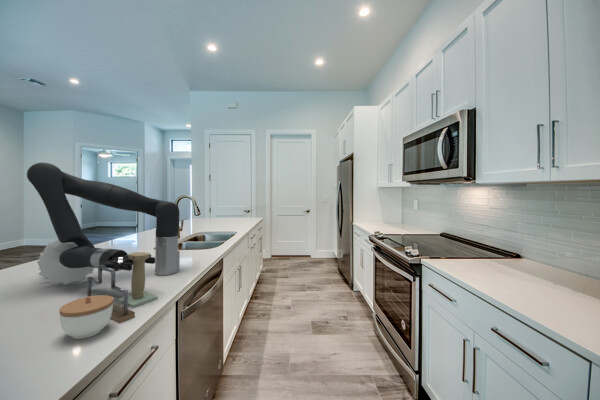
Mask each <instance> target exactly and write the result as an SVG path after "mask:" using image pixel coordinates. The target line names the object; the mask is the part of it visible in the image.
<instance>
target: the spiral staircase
mask: <svg viewBox="0 0 600 400" xmlns="http://www.w3.org/2000/svg"><path fill="white" fill-rule="evenodd" d="M77 246H78V245H76V244H75V243H73V242H68V243H61V242H60V241H59V239H58V238H56V239H55V240H53V241H48V243H47V245H46V246H45V247H44V249H43V251H42V252H40V253H39V255H40V256H38V259H39V260H38V261H36V262H37V264H38V266H39V267H38V270H40V272H38V275H40V276H42V277H43V278H46V279H48V281H47V283H48V284H49V283H50V284H56V283H57V284H62V285H63V286H66V285H69V284H71V283H74V282H76V281H77V282H82V280H83V279H85V277H87V275H88V274H90V275H91V274H93V272H94V271H95V268H93V267H84V268H67V267H65V266H63V265H62V264H61V263H60V261H59V257H60V254H61V253H62V252H63V251H65V250H67V249H70V248H73V247H77Z"/></svg>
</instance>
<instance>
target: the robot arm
mask: <svg viewBox="0 0 600 400" xmlns="http://www.w3.org/2000/svg"><path fill="white" fill-rule="evenodd" d="M26 178H27V180H28V182H29V183H31V185H32V186H33V187H34V188H35V190H36V192H37V193H38V195H39V196H40V198H41V201H42V203H43V204H44V207H45V210H46V211H47V213H48V216H49V219H50V220H49V221H50V222H51V224H52V227H53V230H54V232H55V234H56V236H57V239H59V241H60V242H61V243H68V242H73V243H75V244H76V245H78V246H77V247H73V248H70V249H67V250H65V251H63V252H62V253H61V254H60V257H59V261H60V263H61V264H62V265H63V266H65V267H67V268H84V267H93V268H94V269H98V266H100V265H101V266H105V267H108V268H111V269H115V272H119V271H129V272H130V271H133V260H131V259H129V258H128V254H129V253H127V251H125V250H124V249H116V248H109V247H108V248H107V247H106V248H101V247H95V245H94V244H93V243H92V242H91V241H90V240H89V238H88V237H87V236H86V234H85V233H84V232H83V229H82V227H81V225H80V222H79V220H78V217H77V216H76V214H75V212H74V210H73V208H72V206H71V205H70V203H69V200H68V198H67V196H66V195H69V196H74V197H77V198H81V199H84V200H87V201H90V202H92V203H95V204H98V205H102V206H106V207H110V208H113V209H117V210H123V211H129V212H139V213H144V214H146V215H149V216H152V217H155V218H156V219H155V220H156V224H155V247H154V248H155V249H154V250H155V254H154V255H155V257H154V256H152V254H151V253H150V257H149V258H148V259H146V260H145V264H150V265H154V271H155V272H154V274H155V275H156V276H170V275H174V274H176V273H177V272H180V260H181V258H180V257H181V255H180V254H181V253H180V250H179V229H180V208H179V207H178V205H177V204H176V203H174V202H172V201H166V200H160V199H156V198H152V197H148V196H145V195H143V194H141V193H139V192H136V191H134V190H131V189H128V188H125V187H123V186H119V185H115V184H112V183H108V182H105V181H103V182H102V181H99V180H98V181H97V180H90V179H85V178H81V177H77V176H75V175H72V174H69V173H67V172H65V171H62V170H61V169H60V168H59V167H58V166H56V165H54V164H53V163H49V162H37V163H34V164H33V165H31V166H30V167H29V168H27V171H26ZM103 271H104V272H106V271H105V270H103Z"/></svg>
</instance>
